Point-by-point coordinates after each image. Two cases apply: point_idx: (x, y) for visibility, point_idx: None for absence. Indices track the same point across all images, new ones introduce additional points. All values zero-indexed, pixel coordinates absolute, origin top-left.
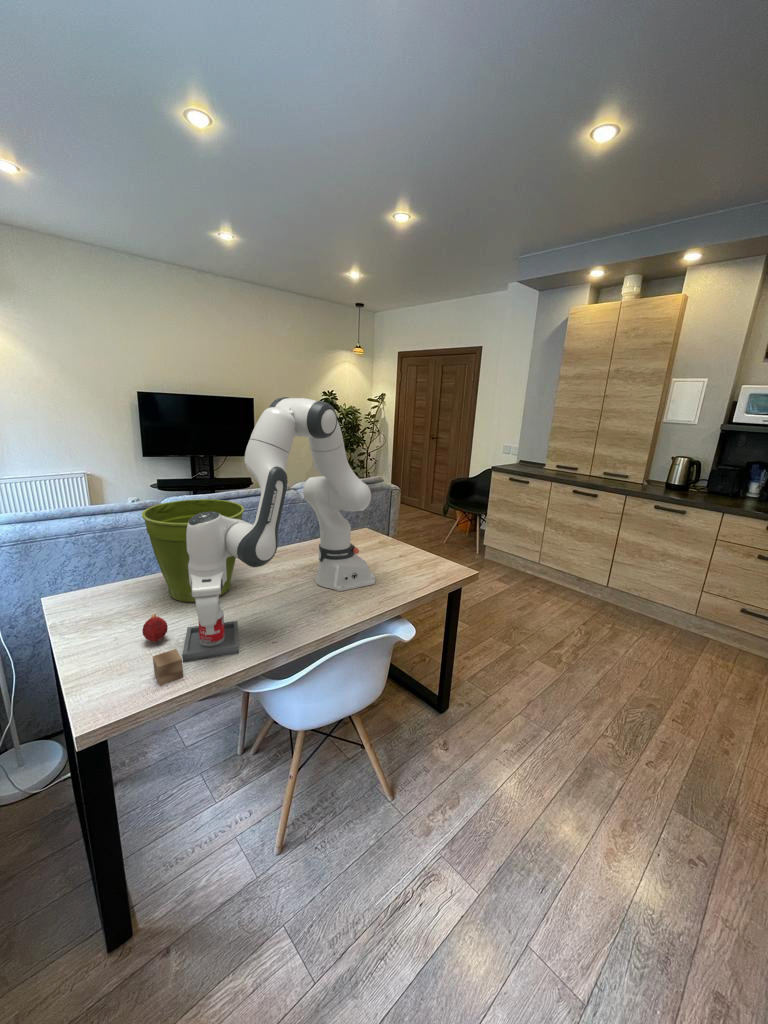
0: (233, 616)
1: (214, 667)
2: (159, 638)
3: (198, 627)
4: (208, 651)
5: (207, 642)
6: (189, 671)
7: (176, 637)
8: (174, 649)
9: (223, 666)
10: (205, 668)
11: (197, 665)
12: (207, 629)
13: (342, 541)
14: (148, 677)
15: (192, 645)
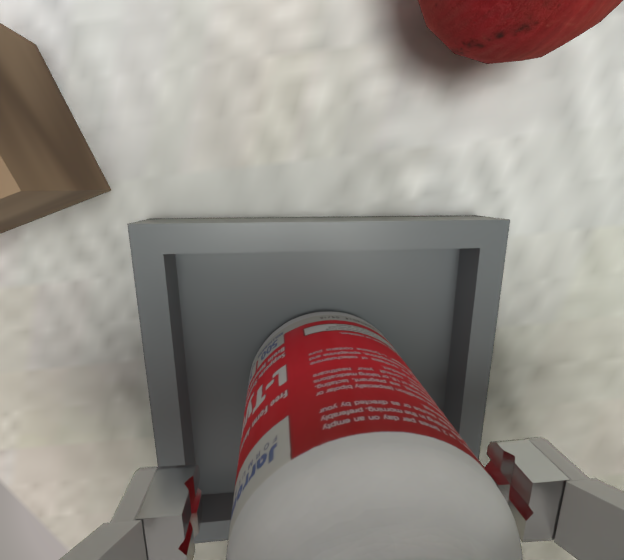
0: (577, 446)
1: (66, 398)
2: (422, 12)
3: (476, 296)
4: (151, 387)
5: (249, 377)
6: (43, 268)
7: (464, 143)
8: (11, 176)
9: (70, 440)
10: (63, 353)
11: (102, 306)
12: (115, 523)
13: None
14: (3, 4)
15: (304, 264)
